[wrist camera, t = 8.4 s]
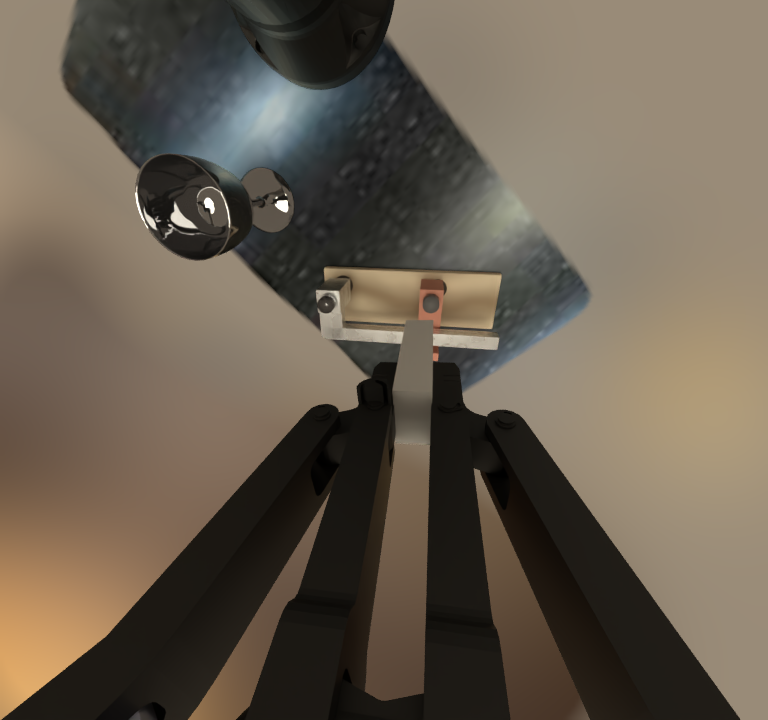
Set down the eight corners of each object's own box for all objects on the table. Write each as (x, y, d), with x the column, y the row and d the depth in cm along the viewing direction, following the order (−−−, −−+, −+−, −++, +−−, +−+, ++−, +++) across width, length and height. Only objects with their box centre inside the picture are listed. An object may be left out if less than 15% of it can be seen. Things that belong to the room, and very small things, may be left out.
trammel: (333, 274, 41) (312, 293, 34) (496, 280, 39) (510, 302, 32) (336, 318, 44) (317, 344, 37) (488, 327, 42) (499, 356, 35)
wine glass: (222, 197, 40) (118, 204, 27) (260, 146, 36) (164, 126, 23) (270, 249, 42) (197, 279, 29) (310, 205, 39) (248, 217, 26)
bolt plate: (326, 266, 42) (323, 268, 41) (499, 272, 39) (501, 275, 38) (330, 316, 45) (328, 319, 44) (490, 325, 43) (491, 329, 42)
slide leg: (421, 278, 39) (419, 294, 34) (442, 279, 39) (444, 295, 34) (417, 336, 43) (415, 359, 38) (437, 337, 43) (437, 361, 37)
